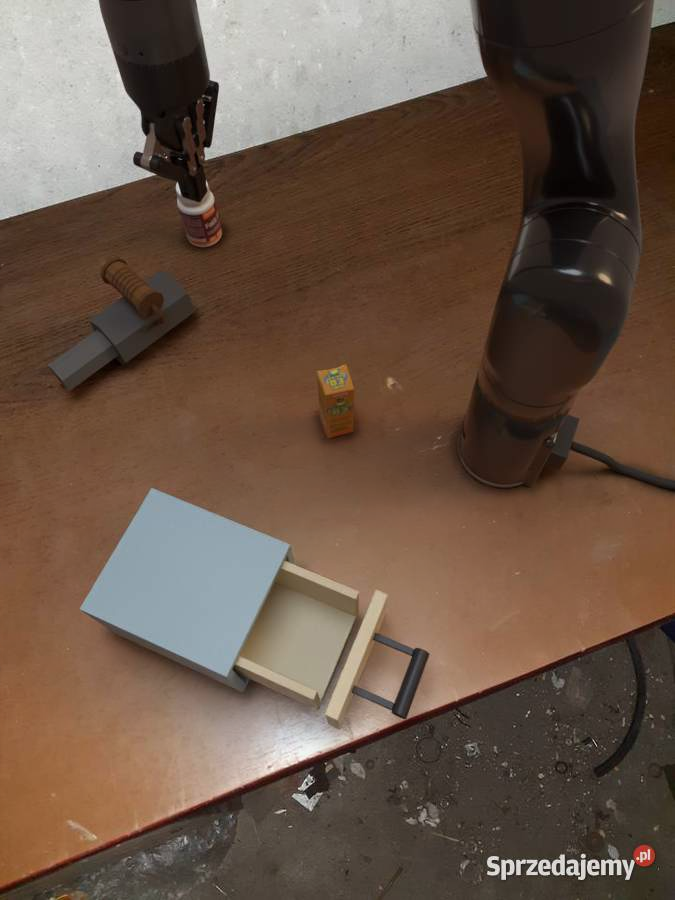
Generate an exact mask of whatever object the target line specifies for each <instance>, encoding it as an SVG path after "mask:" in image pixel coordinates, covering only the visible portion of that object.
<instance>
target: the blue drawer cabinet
mask: <svg viewBox="0 0 675 900" xmlns="http://www.w3.org/2000/svg"><path fill="white" fill-rule="evenodd" d="M126 528H127V529H126V530H125V531H124V534H123V535H122V537H121V538H120V540H119V541H118V543H117V545H116V547H115V548H114V550H113V552H112V553H111V555H110V557H109V559H107V562H106V563H105V565H104V567H103V568H102V570H101V572H100V573H99V575H98V577H97V579H96V580H95V581H94V584H92V587H91V589H90V590H89V592H88V594H87V596H86V597H85V599H84V600H83V602H82V604H81V606H80V607H79V611H81V612H82V613H84V614H86V615H87V616H88V617H90V618H91V619H93V620H94V621H95V622H96V623H99V624H100V625H101V626H103V627H105V628H106V629H108V630H109V631H110V632H112V633H113V634H115V635H118V636H120V637H122V638H124V639H126V640H129V641H130V642H133V643H134V644H137V645H139V646H141V647H143V648H146V649H147V650H150V651H152V652H155V653H156V654H158V655H161V656H163V657H165V658H168V659H169V660H171V661H173V662H176V663H178V664H180V665H182V666H185V667H186V668H189V669H191V670H193V671H195V672H197V673H199V674H202V675H204V676H205V677H207V678H210V679H213V680H215V681H217V682H219V683H222V684H223V685H226V686H228V687H230V688H232V689H234V690H236V691H239V692H241V693H243V694H244V693H245V691H246V689H247V687H248V684H249V682H250V680H251V679H249V678H247V677H245V676H242V675H240V674H238V673H236V672H234V671H233V670H232V669H233V667H234V665H235V663H236V661H237V659H238V657H239V655H240V652H241V650H242V648H243V646H244V644H245V642H246V640H247V638H248V636H249V634H250V632H251V630H252V627H253V625H254V623H255V621H256V619H257V617H258V615H259V613H260V611H261V609H262V607H263V605H264V602H265V600H266V598H267V596H268V594H269V592H270V590H271V588H272V586H273V584H274V582H275V580H276V577H277V575H278V573H279V571H280V569H281V567H282V565H283V563H284V561H287V562H289V563H292V564H294V565H296V561H295V557H294V554H293V551H292V546H291V544H290V543H288V542H285V541H283V540H282V539H281V540H280V539H278V538H276V537H273V536H271V535H268V534H266V533H264V532H261V531H258V530H256V529H254V528H251V527H249V526H246V525H244V524H241V523H239V522H237V521H234V520H232V519H229V518H227V517H224V516H223V515H219V514H217V513H215V512H212V511H211V510H207V509H204V508H202V507H200V506H197V505H195V504H193V503H190V502H187V501H185V500H182V499H180V498H177V497H175V496H172V495H170V494H168V493H165V492H163V491H160V490H158V489H156V488H153V487H151V488H150V490H149V491H148V493H147V494H146V496H145V498H144V500H143V502H142V503H141V505H140V507H139V508H138V509H137V511H136V513H135V515H134V517H133V519H132V520H131V522H130V523H129V525H128V527H126Z"/></svg>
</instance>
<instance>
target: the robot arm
mask: <svg viewBox="0 0 675 900" xmlns="http://www.w3.org/2000/svg"><path fill="white" fill-rule="evenodd" d="M98 4H99V9H100V14H101V18H102V21H103V24H104V27H105V31H106V34H107V36H108V40H109V43H110V46H111V50H112V53H113V57H114V60H115V61H116V66H117V70H118V72H119V75H120V78H121V79H120V80H121V82H122V85H123V88H124V90H125V93H126V94H127V96H128V97H129V98H130V99H131V101H132V102H133V103H134V104H135V105H136V107H137V108H138V109H139V111H140V120H141V121H140V127H141V132H142V133H143V134H144V136H145V143H144V147H143V152H141V151H138V150H137V151H135V152H134V154H133V157H132V162H133V165H134V166H135V167H138V168H140V169H142V170H145V171H147V172H149V173H151V174H154V175H156V176H158V177H161V178H164V179H167V180H171V181H173V182H176V183H177V182H178V185H179V187H180V188H179V189H180V192H181V195H182V197H183V198H186V199H189V200H193V201H196V202H201V201H202V199H203V198H204V196H205V195H206V193H207V186H206V181H207V178H206V175H205V173H206V172H205V170H204V164H205V161H206V153H205V148H207V149H210V148H211V146H212V143H213V136H214V129H215V123H216V116H217V115H216V114H217V108H218V107H217V105H218V98H219V91H220V84H219V82H218V81H215V80H212V79H211V72H210V67H209V62H208V61H209V60H208V56H207V51H206V47H205V46H206V45H205V41H204V36H203V29H202V25H201V19H200V13H199V9H198V4H197V0H98ZM469 6H470V14H471V19H472V26H473V27H472V28H473V32H474V37H475V42H476V46H477V51H478V54H479V55H478V56H479V58H480V61H481V65H482V67H483V70H484V72H485V74H486V77H487V80H488V81H489V83H490V85H491V87H492V89H493V91H494V93H495V95H496V96H497V98H498V100H499V101H500V103H501V104H502V106H503V108H504V109H505V110H506V112H507V114H508V115H509V117H510V119H511V121H512V122H513V125H514V127H515V129H516V132H517V135H518V140H519V145H520V154H521V167H522V201H521V202H522V203H521V215H520V220H519V226H518V229H517V233H516V237H515V240H514V243H513V246H512V251H511V252H510V256H509V259H508V262H507V266H506V269H505V272H504V275H503V278H502V282H501V285H500V288H499V290H498V294H497V296H496V301H495V305H494V308H493V311H492V315H491V320H490V324H489V327H488V331H487V335H486V339H485V342H484V345H483V352H482V354H481V355H482V356H481V360H480V363H479V367H478V370H477V374H476V377H475V381H474V384H473V388H472V390H471V391H472V392H471V395H470V399H469V402H468V406H467V409H466V412H465V416H464V418H463V421H462V424H461V428H460V430H459V434H458V436H457V438H456V439H457V440H456V441H457V445H456V446H457V455H458V458H459V461H460V463H461V465H462V467H463V468H464V469H465V471H466V473H468V474H469V475H470V476H471V477H472V478H473V479H475V480H476V481H478V482H480V483H481V484H483V485H486V486H489V487H493V488H497V489H498V488H499V489H511V488H515V487H519V486H521V485H523V486H527V487H530V488H531V487H534V485H535V483H536V481H537V479H538V478H539V475H540V474H541V472H542V470H543V468H544V467H545V466H546V467H549V468H551V469H554V470H557V471H561V469H562V467H563V466H564V464H565V462H566V461H567V459H568V457H569V453H570V451H572V452H575V453H577V454H580V455H582V456H584V457H588V458H591V459H593V460H595V461H598V462H600V463H602V464H604V465H605V466H607V467H609V469H611V470H613V471H615V472H617V473H619V474H622V475H624V476H627V477H629V478H633V479H635V480H638V481H641V482H644V483H647V484H651V485H654V486H657V487H660V488H665V489H669V490H674V491H675V480H674V479H669V478H664V477H661V476H657V475H654V474H651V473H647V472H644V471H642V470H639V469H636V468H633V467H630V466H628V465H626V464H622V463H621V462H618V461H617V460H615V459H614V458H613V457H611V456H610V455H608V454H606V453H604V452H602V451H600V450H598V449H595V448H592V447H591V446H587V445H585V444H583V443H579V442H577V441H574V438H575V435H576V431H577V429H578V426H579V422H580V418H578V417H576V416H573V415H570V414H569V412H570V410H571V408H572V407H573V405H574V404H575V401H576V400H577V397H578V395H579V394H580V392H581V390H582V388H584V387H585V386H588V385H589V383H590V382H592V381H593V380H594V378H596V376H597V374H598V372H599V371H600V369H601V367H603V364H604V363H605V361H606V360H607V358H608V357H609V355H610V353H611V352H612V350H613V349H614V347H615V345H616V343H617V341H618V340H619V338H620V337H621V335H622V332H623V331H624V328H625V326H626V323H627V320H628V317H629V314H630V311H631V307H632V303H633V302H632V301H633V296H634V291H635V286H636V280H637V275H638V271H639V268H640V267H639V266H640V263H641V261H640V260H641V254H642V249H643V229H642V218H641V209H640V200H639V198H640V197H639V188H638V176H637V163H636V141H635V137H636V136H635V134H636V133H635V132H636V119H637V112H638V106H639V101H640V97H641V92H642V87H643V83H644V82H643V81H644V77H645V72H646V66H647V61H648V54H649V49H650V48H649V47H650V40H651V33H652V22H653V15H654V7H655V0H469Z"/></svg>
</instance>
